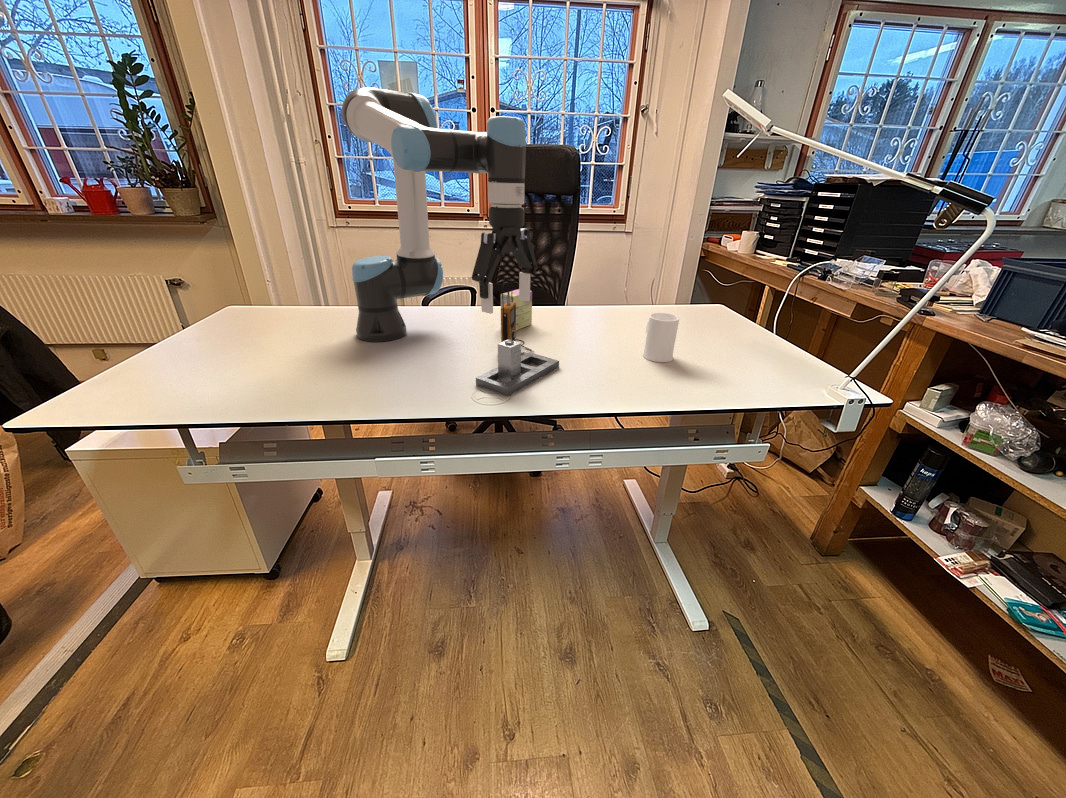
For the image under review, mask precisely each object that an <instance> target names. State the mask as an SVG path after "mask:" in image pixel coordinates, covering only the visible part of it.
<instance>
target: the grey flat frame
mask: <svg viewBox="0 0 1066 798" xmlns="http://www.w3.org/2000/svg"><path fill="white" fill-rule="evenodd" d="M530 364H533V365H536V367H534V366H531V365H530ZM559 368H560V360H559V359H555V358H551V357H548V356H544V355H540V354H537V353H535V352H531V351H528V352H526V353H524V354H521V376H519V377H517V378H515V379H513V380H512V381H510V382H508V383H506V384H504V383H501V382H498V366H497V367H496V368H493V369H491V370H489V371H487V372H485V373H482V374H481V375H478V376H476V377H475V385H476V386H478V387H480V388H483V389H486V390H488V391H492V393H493V392H494V393H497V394H500V395H503V396H504V397H510V396H512V395H513V394H515V393H517V392H518V391H520V390H522V389H524V388H525V387H527V386H529V385H531V384H533V383H535V382H536V381H537V380H540V379H541V378H543V377H545V376H546V375H547V376H548V375H549V374H551V373H552V372H553V371H556V370H557V369H559Z"/></svg>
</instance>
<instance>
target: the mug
mask: <svg viewBox="0 0 1066 798" xmlns="http://www.w3.org/2000/svg"><path fill="white" fill-rule="evenodd" d="M648 317H649V319H648V321H647V323H646V331H645V333H646V336H645V344H644V349H643V352H642V357H643V358H644V359H646V360H648V361H651V362H655V363H669V362H672V361H673V359H674V350H675V343H676V339H677V333H678V328H679V322H680V317H679V316H677V315H675V314H671V313H667V312H655V313H651V314H650V315H649V316H648Z"/></svg>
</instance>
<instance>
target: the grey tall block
mask: <svg viewBox="0 0 1066 798" xmlns="http://www.w3.org/2000/svg"><path fill="white" fill-rule="evenodd" d="M521 345H522V342H520V341H519V342H518V341H516V342H515V341H512V340H506V341H503V342H501V341H500V343H497V367H498V380H497V382H499V383H502V384H506V383H508V382H510V381H512V380H513V379H515V378H517V377H519V376H521V375H522V374H521V356H522V354H521V353H522V346H521Z"/></svg>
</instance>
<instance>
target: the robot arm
mask: <svg viewBox="0 0 1066 798" xmlns="http://www.w3.org/2000/svg"><path fill="white" fill-rule="evenodd" d="M341 117H342V120H343V123H344V125H345V127H346V128H347V130H348V131H349V132H350V133H351V134H352V135H353V136H354V137H356V138H358V139H359V140H361V141H363V142H365V143H375V144H376V145H378V146H380V147H381V148H383V149H385V150H386V152H388V153H389V154H390V156H391V157H392V161H393V171H394V172H393V173H394V184H395V186H394V187H395V195H396V207H397V217H398V218H397V219H398V220H397V221H398V228H399V240H400V242H399V243H400V248H398V249H397V250H396V253H395V254H396V259H393V258H392V257H391V256H390V255H373V256H368V257H364V258H361V259H358V260H356V261H355V262H354V263H353V264H352V266H351V273H352V281H353V286H354V290H355V297H356V303H357V307H358V317H357V320H356V328H355V331H356V337H357V339H359V340H360V341H364V342H373V343H374V342H378V343H379V342H380V343H381V342H389V341H394V340H397V339H401V338H403V337H404V336H406V334H407V325H406V323H405V320H404V319H403V317H402V314H401V312H400V311H399V307H398V300H402V299H408V298H415V297H416V298H417V297H427V296H428V295H433V294H436V293H438V292H439V290H440V289H441V288H442V285H443V281H444V270H443V269H444V268H443V267H442V262H441V261H440V259H439V258H438V257H437V256H436V255H435V254H436V253H435V251H433V250H432V248H431V247H430V234H429V216H428V215H429V213H428V197H427V195H428V194H427V179H426V178H427V176H426V172H448V173H449V172H451V173H468V174H469V173H470V174H477V175H478V174H487V176H488V177H487V187H488V188H487V189H488V190H487V191H488V192H487V195H488V196H487V200H488V201H487V203H488V204H490V206H489V207H488V225H490V226H491V229H492V231H491V233H490V232H484V231H483V232H481V235H480V245H479V248H478V253H477V256H476V260H475V264H474V267H473V269H472V270H473V271H472V274H471V280H472V281H474V282H478V284H479V297H480V300H481V301H480V302H481V312H482V313H485V314H490V315H491V314H494V295H493V293H494V292H493V291H494V290H493V289H494V286H493V285H494V284H493V283H492V282H491V280H492V277H493V276H494V274H495V271H496V269H497V267H498V265H499V263H500V261H501V259H502V257H504V256H505V254H509V253H511V254H512V256H513V257H514V260H516V262H517V265H518V266H519V268H520V269H521V271H520V272H519V276H518V280H519V283H518V285H519V286H518V287H519V288H518V289H519V300H523V301H530V291H531V284H532V281H531V280H532V274H535V273H536V269H537V268H538V263H537V259H536V255H535V251H534V249H533V245H532V241H531V231H530V229H529V228H525V227H524V225H525V209H524V207H522V205H525V183H526V181H525V179H526V155H527V154H526V152H527V148H526V147H527V140H526V137H527V136H526V124H525V121H524V120H523V119H522V118H520V117H516V116H505V115H501V116H499V115H497V116H491V117H489V118H488V120H487V121H486V129H485V130H486V131H468V130H457V129H456V130H455V129H444V128H438V124H437V122H438V121H437V117H436V113H435V110H434V108H433V106H432V104H431V102H430V101H429V99H427V98H426V97H425V96H424V95H423V94H422V95H421V94H417V93H414V92H410V91H401V90H400V91H399V90H391V89H385V88H384V89H382V88H376V87H372V86H371V87H367V86H366V87H360V88H357V89H355V90H353V91H350V93H348V95H346V96H345V98H344V100H343V103H342V107H341ZM523 227H524V228H523Z"/></svg>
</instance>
